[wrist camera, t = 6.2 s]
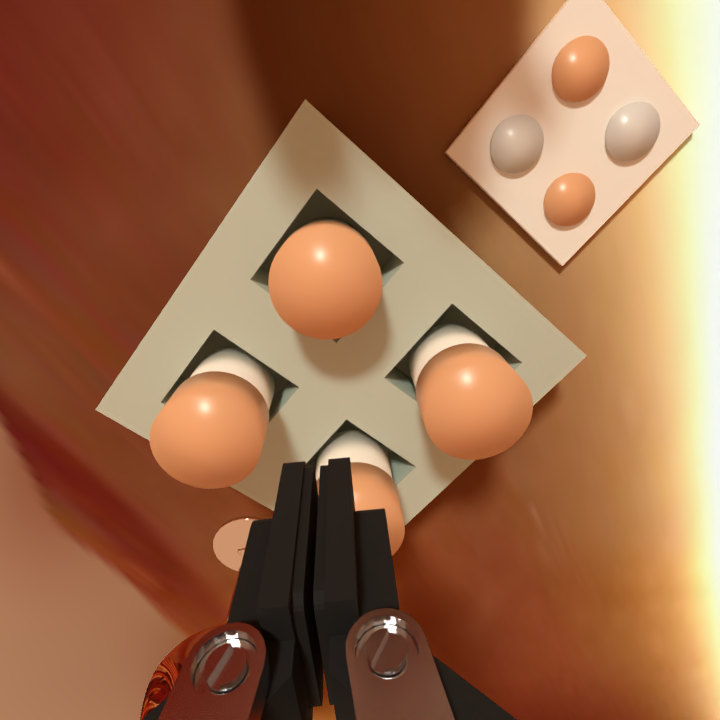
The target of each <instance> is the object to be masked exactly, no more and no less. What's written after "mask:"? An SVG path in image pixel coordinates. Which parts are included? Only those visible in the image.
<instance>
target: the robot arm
mask: <svg viewBox="0 0 720 720" xmlns="http://www.w3.org/2000/svg"><path fill="white" fill-rule="evenodd" d="M323 669H324V673H325V679H326V685H327V691H328V697H329V703H330V705H334V708H335V714H336V720H517V719H515V718H514V717H513V716H511V715H510V714H509V713H507V712H506V711H505V710H503V709H502V708H501V707H500V706H498V705H497V704H496V703H494V702H493V701H492V700H490V699H489V698H488V697H486V696H485V695H484V694H483V693H481V692H480V691H479V690H477V689H476V688H475V687H473V686H472V685H471V684H469V683H468V682H467V681H466V680H464V679H463V678H462V677H460V676H459V675H458V674H456V673H455V672H454V671H452V670H451V669H450V668H449V667H447V666H446V665H445V664H443V663H442V662H441V661H439V660H438V659H437V658H435V657H434V656H433V655H432V653H431V650H430V647H429V645H428V642H427V639H426V636H425V634H424V632H423V630H422V628H421V626H420V625H419V624H418V623H417V622H416V621H415V620H414V619H413V618H412V617H411V616H410V615H408V614H406V613H404V612H402V611H401V610H399V603H398V596H397V589H396V582H395V575H394V568H393V561H392V554H391V547H390V540H389V533H388V526H387V519H386V512H385V508H383V509H372V510H361V511H355V502H354V492H353V482H352V472H351V463H350V457H346V458H335V459H329V460H328V465H323V466H320V479H319V496H318V488H317V481H316V474H315V468H314V466H312V467H307V465H306V462H305V461H302V462H291V463H284V464H283V466H282V470H281V476H280V481H279V487H278V492H277V498H276V503H275V508H274V514H273V519H264V520H254V521H253V522H252V524H251V527H250V531H249V535H248V539H247V543H246V547H245V551H244V555H243V559H242V564H241V568H240V572H239V576H238V580H237V584H236V588H235V592H234V596H233V601H232V605H231V609H230V613H229V617H228V621H227V624H224V625H222V626H219V627H216V628H214V629H213V630H211V631H210V632H208V633H207V634H205V635H204V636H202V638H201V639H200V640H199V641H198V642H197V643H196V644H195V645H194V646H193V647H192V649H191V651H190V652H189V654H188V656H187V657H186V659H185V661H184V663H183V665H182V668H181V670H180V672H179V674H178V677H177V679H176V681H175V683H174V685H173V688H172V690H171V692H170V694H169V696H168V697H167V698H166V699H165V700H163V701H162V702H161V703H160V704H159V705H158V706H157V707H155V708H154V709H153V710H152V711H151V712H150V713H149V714H147V715H146V716H145V717H144V718H143V719H142V720H312V716H313V707H315V706H322V701H323Z"/></svg>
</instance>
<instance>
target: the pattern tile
mask: <svg viewBox="0 0 720 720" xmlns="http://www.w3.org/2000/svg"><path fill="white" fill-rule="evenodd" d="M698 126H699V123H698V122H697V121H696V119H695V118H694V117H693V116H692V114H691V113H690V112H689V110H688V109H687V108H686V106H685V105H684V104H683V103H682V101H681V100H680V99H679V97H678V96H677V95H676V93H675V92H674V91H673V90H672V88H671V87H670V86H669V84H668V83H667V82H666V80H665V79H664V78H663V77H662V75H661V74H660V73H659V71H658V70H657V69H656V67H655V66H654V65H653V64H652V62H651V61H650V60H649V58H648V57H647V56H646V54H645V53H644V52H643V51H642V49H641V48H640V47H639V45H638V44H637V43H636V42H635V40H634V39H633V38H632V36H631V35H630V34H629V32H628V31H627V30H626V29H625V27H624V26H623V25H622V23H621V22H620V21H619V19H618V18H617V17H616V16H615V14H614V13H613V12H612V10H611V9H610V8H609V6H608V5H607V4H606V3H605V1H604V0H567V1H566V2H565V3H564V4H563V6H562V7H561V8H560V9H559V11H558V12H557V13H556V14H555V16H554V17H553V18H552V19H551V21H550V22H549V23H548V24H547V26H546V27H545V28H544V29H543V31H542V32H541V33H540V34H539V36H538V37H537V38H536V39H535V40H534V42H533V43H532V44H531V45H530V47H529V48H528V49H527V50H526V52H525V53H524V54H523V55H522V57H521V58H520V59H519V60H518V62H517V63H516V64H515V65H514V67H513V68H512V69H511V70H510V72H509V73H508V74H507V75H506V77H505V78H504V79H503V80H502V82H501V83H500V84H499V85H498V86H497V88H496V89H495V90H494V91H493V93H492V94H491V95H490V96H489V98H488V99H487V100H486V101H485V103H484V104H483V105H482V106H481V108H480V109H479V110H478V111H477V113H476V114H475V115H474V116H473V118H472V119H471V120H470V121H469V123H468V124H467V125H466V126H465V128H464V129H463V130H462V131H461V132H460V134H459V135H458V136H457V137H456V139H455V140H454V141H453V142H452V144H451V145H450V146H449V147H448V149H447V150H446V151H445V152H444V153H445V154H446V155H447V156H448V157H449V158H450V159H451V160H452V161H453V162H454V163H455V164H456V165H457V166H458V167H459V168H460V169H462V170H463V171H464V172H465V173H466V174H467V175H468V176H469V177H470V178H471V179H472V180H473V181H474V182H475V183H476V184H477V185H478V186H479V187H480V188H481V189H482V190H483V191H484V192H485V193H486V194H487V195H488V196H489V197H490V198H491V199H492V200H493V201H494V202H495V203H496V204H497V205H498V206H499V207H500V208H501V209H502V210H504V211H505V212H506V213H507V214H508V215H509V216H510V217H511V218H512V219H513V220H514V221H515V222H516V223H517V224H518V225H519V226H520V227H521V228H522V229H523V230H524V231H525V232H526V233H527V234H528V235H529V236H530V237H531V238H532V239H533V240H534V241H535V242H536V243H537V244H538V245H539V246H540V247H541V248H542V249H543V250H544V251H545V252H547V253H548V254H549V255H550V256H551V257H552V258H553V259H554V260H555V261H556V262H557V263H558V264H559V265H562V266H563V265H564V264H565V263H566V262H567V261H568V260H569V259H570V258H571V257H572V256H573V255H574V254H575V253H576V252H577V251H578V250H579V249H580V247H581V246H582V245H583V244H584V243H585V242H586V241H587V240H588V239H589V238H590V237H591V236H592V235H593V234H594V233H595V232H596V231H597V230H598V229H599V228H600V227H601V226H602V225H603V224H604V223H605V222H606V221H607V220H608V219H609V218H610V217H611V216H612V215H613V214H614V213H615V212H616V210H617V209H618V208H619V207H620V206H621V205H622V204H623V203H624V202H625V201H626V200H627V199H628V198H629V197H630V196H631V195H632V194H633V193H634V192H635V191H636V190H637V189H638V188H639V187H640V186H641V185H642V184H643V183H644V182H645V181H646V180H647V179H648V178H649V177H650V176H651V175H652V174H653V172H654V171H655V170H656V169H657V168H658V167H659V166H660V165H661V164H662V163H663V162H664V161H665V160H666V159H667V158H668V157H669V156H670V155H671V154H672V153H673V152H674V151H675V150H676V149H677V148H678V147H679V146H680V145H681V144H682V143H683V142H684V141H685V140H686V139H687V138H688V137H689V135H690V134H691V133H692V132H693V131H694V130H695V129H696V128H697V127H698Z"/></svg>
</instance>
